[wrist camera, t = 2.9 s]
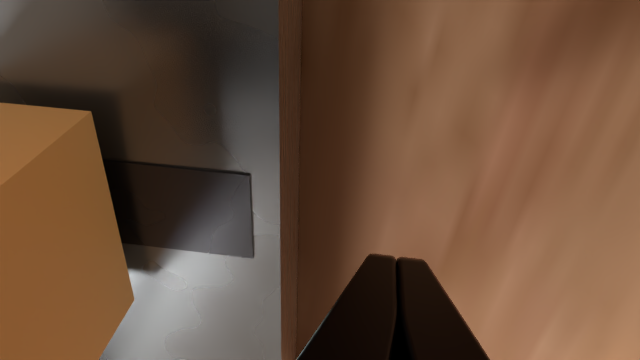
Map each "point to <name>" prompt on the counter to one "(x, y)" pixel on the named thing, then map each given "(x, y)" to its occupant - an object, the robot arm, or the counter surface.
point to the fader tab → (57, 238)
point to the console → (183, 157)
